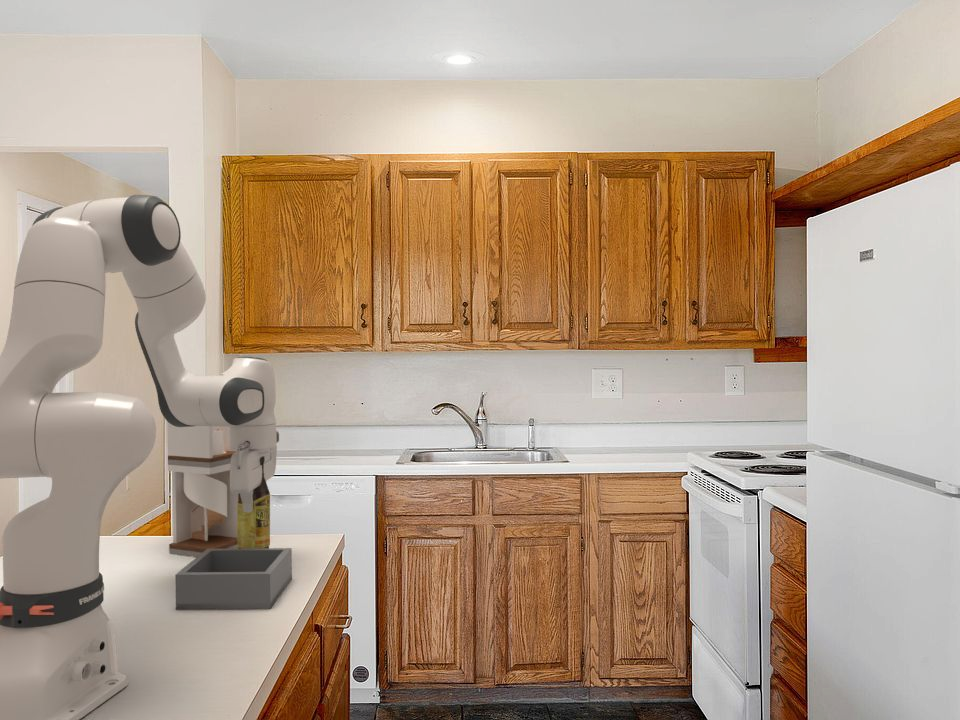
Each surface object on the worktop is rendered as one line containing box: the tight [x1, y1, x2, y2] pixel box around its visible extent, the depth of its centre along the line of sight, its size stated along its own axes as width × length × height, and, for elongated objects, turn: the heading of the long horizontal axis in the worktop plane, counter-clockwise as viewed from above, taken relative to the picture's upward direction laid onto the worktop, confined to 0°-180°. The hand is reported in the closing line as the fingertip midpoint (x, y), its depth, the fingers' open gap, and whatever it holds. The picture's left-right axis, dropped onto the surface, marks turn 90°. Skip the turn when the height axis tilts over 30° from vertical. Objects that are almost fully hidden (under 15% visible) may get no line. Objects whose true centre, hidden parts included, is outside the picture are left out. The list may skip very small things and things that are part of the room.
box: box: [174, 547, 293, 611], centre depth 139 cm, size 16×16×6 cm
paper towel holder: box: [166, 420, 238, 558], centre depth 167 cm, size 11×11×35 cm
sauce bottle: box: [237, 456, 271, 549], centre depth 153 cm, size 6×6×20 cm
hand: (253, 507), depth 153 cm, fingers closed on sauce bottle, 6 cm apart
